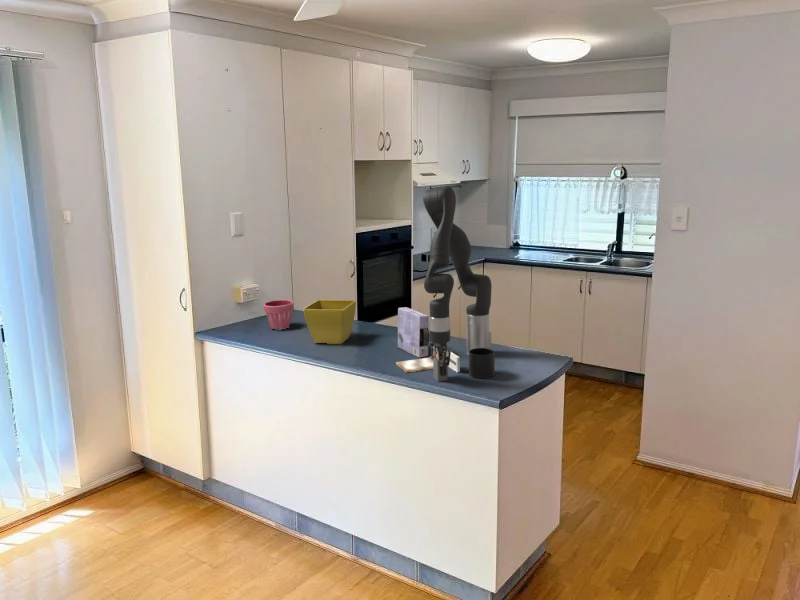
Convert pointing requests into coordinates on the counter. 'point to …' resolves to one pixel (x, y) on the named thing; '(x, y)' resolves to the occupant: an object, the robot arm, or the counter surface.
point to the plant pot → (279, 313)
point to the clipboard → (416, 364)
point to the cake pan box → (413, 332)
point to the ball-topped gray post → (437, 370)
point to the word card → (454, 362)
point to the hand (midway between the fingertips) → (440, 373)
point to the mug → (481, 363)
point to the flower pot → (330, 320)
